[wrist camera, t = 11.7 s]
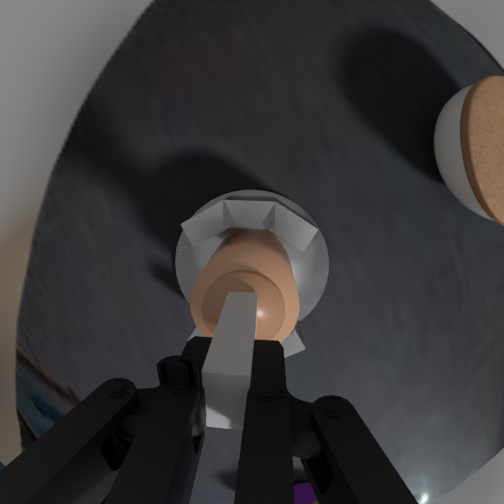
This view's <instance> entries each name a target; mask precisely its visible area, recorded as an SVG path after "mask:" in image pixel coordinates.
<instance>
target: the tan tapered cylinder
mask: <svg viewBox="0 0 504 504" xmlns="http://www.w3.org/2000/svg"><path fill="white" fill-rule="evenodd" d="M228 291H233V292H252V293H258V308H257V332H256V340H278V341H279V342H280V343H281V342H282V341H283V340H284V339H286V338H287V336H288V335H289V334H290V333H291V331H292V330H293V328H294V326H295V324H296V322H297V319H298V315H299V306H300V304H299V296H298V292H297V288H296V283H295V279H294V275H293V271H292V267H291V262H290V259H289V255H288V253H287V251H286V249H285V247H284V246H283V245H282V243H281V242H280V241H279V240H278V239H277V238H275V237H274V236H272V235H270V234H269V233H266V232H264V231H260V230H253V229H252V230H242V231H238V232H236V233H233V234H231V235H230V236H228V237H227V238H226V239H224V240H223V241H222V242H221V244H220V245H219V246H218V248H217V249H216V251H215V252H214V254H213V255H212V257H211V258H210V260H209V261H208V263H207V264H206V266H205V267H204V269H203V270H202V272H201V273H200V275H199V276H198V278H197V279H196V281H195V283H194V285H193V288H192V291H191V296H190V309H191V314H192V317H193V320H194V322H195V324H196V326H197V327H198V329H199V330H200V332H201V333H202V334H203V335H204V336H205V337H213V335H214V332H215V330H216V327H217V324H218V321H219V318H220V315H221V312H222V309H223V306H224V303H225V300H226V297H227V294H228Z"/></svg>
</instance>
